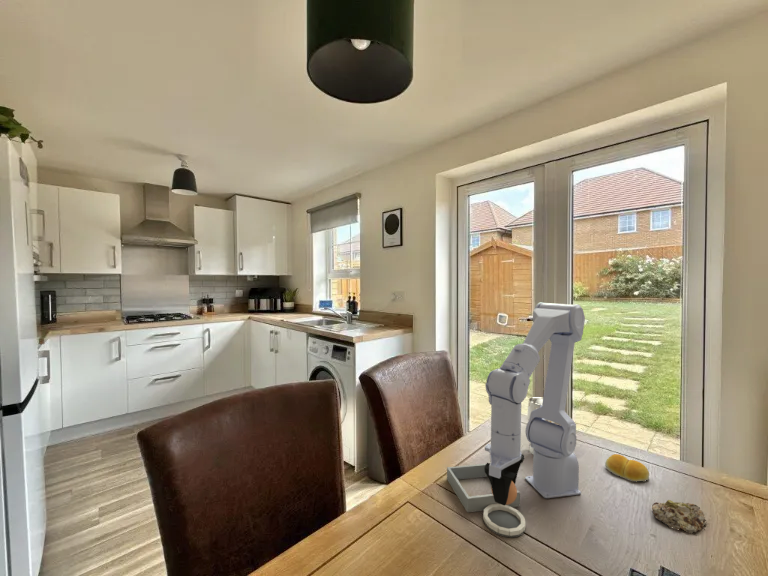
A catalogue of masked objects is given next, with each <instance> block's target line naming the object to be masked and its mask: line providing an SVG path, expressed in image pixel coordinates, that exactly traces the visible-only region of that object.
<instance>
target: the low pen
mask: <svg viewBox="0 0 768 576" xmlns="http://www.w3.org/2000/svg"><path fill="white" fill-rule="evenodd" d="M486 464H487V463H477V464H468V465H467V464H466V465H456V466H447V467H446V480H447V482H448V483H449V485H450V486H451V488H452V490H453V492H454V493H455V495H456V497H457V498H458V500H459V501H460V503H461V504H462V506H463V508H464V509H465V511H466V512H467V513H474V512H482V511H483V512H484V509H485V508H486V507H487V506H489V505H491V504H499V503H497V502H495V500H494V496H493V494H492V493H490V494H480V495H479V494H478V495H471V496H470V495H469V494H468V492H467V491H466V490H465V488H464V487H463V486H462V484H461V482H460V481H459V480H468V479H476V478H477V479H478V478H486V477H487V478H488V476H487V475H486V473H485V470H484V468H485V465H486ZM520 505H521V492H520V491H519V490H518V489H517V497H516V499H515V501H514V502H513V503H511V504H508V506H509V507H510V506H511V507H512V508H516V507H520Z"/></svg>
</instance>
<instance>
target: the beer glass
mask: <svg viewBox="0 0 768 576" xmlns="http://www.w3.org/2000/svg"><path fill="white" fill-rule="evenodd" d="M542 403H543V397H539V396H533V397H530V398H528V406H527V422H528V421H529V418H530V414H531V412H532V411H533V410H535V409H537V408H540V407H541V406H542ZM542 419H543V418H542ZM543 420H546V419H543ZM546 421H549V420H546ZM549 422H552V421H549ZM552 423H555V422H552ZM528 446H529V447H528V452H529V454H531V455H533V451H534V448H532V447H531V442H529V445H528Z"/></svg>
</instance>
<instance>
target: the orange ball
mask: <svg viewBox="0 0 768 576" xmlns="http://www.w3.org/2000/svg"><path fill="white" fill-rule="evenodd" d="M490 490H491V494H493V492H492V487H491V486H490ZM517 490H518V488H517V486H516V483H515V484H514V482H513V481H512V482H511V485H510V488H509V494H508V499H507V503H506V505H508V504H511V503H513V502H514V501H515V499H516V497H517Z"/></svg>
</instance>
